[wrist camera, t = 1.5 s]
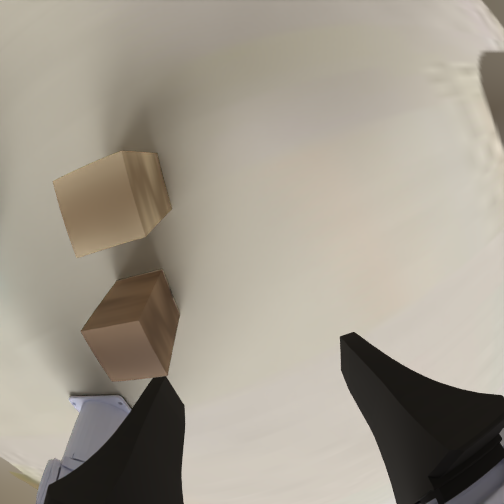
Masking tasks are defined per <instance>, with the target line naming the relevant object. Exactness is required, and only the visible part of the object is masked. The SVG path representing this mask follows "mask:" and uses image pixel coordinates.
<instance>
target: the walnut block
mask: <svg viewBox="0 0 504 504" xmlns="http://www.w3.org/2000/svg"><path fill="white" fill-rule="evenodd" d="M179 317H180V313H179V310H178V308H177V305H176V303H175V300H174V297H173V295H172V292H171V290H170V287H169V284H168V282H167V279H166V276H165V273H164V271H163V269H159V270H155V271H152V272H148V273H144V274H140V275H136V276H132V277H128V278H124V279H121V280H117V281H116V282H115V284H114V285H113V286H112V288H111V289H110V290H109V292H108V293H107V294H106V296H105V297H104V299H103V300H102V301H101V303H100V304H99V305H98V307H97V308H96V310H95V311H94V313H93V314H92V315H91V317H90V318H89V320H88V321H87V323H86V324H85V326H84V327H83V329H82V330H81V333H82V335H83V336H84V338H85V340H86V342H87V343H88V345H89V347H90V348H91V350H92V352H93V353H94V355H95V356H96V358H97V360H98V361H99V363H100V364H101V366H102V367H103V369H104V371H105V372H106V374H107V375H108V376H109V378H110V379H111V381H112V382H115V381H126V380H136V379H145V378H153V377H161V376H168V371H169V366H170V360H171V355H172V350H173V345H174V340H175V335H176V331H177V326H178V321H179Z"/></svg>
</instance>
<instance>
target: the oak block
mask: <svg viewBox="0 0 504 504" xmlns="http://www.w3.org/2000/svg"><path fill="white" fill-rule="evenodd" d="M53 185H54V188H55V192H56V196H57V200H58V203H59V207H60V210H61V214H62V217H63V220H64V223H65V226H66V229H67V232H68V235H69V238H70V241H71V244H72V247H73V249H74V252H75V255H76V257H77V258H79V257H82V256H85V255H88V254H92V253H95V252H98V251H101V250H104V249H107V248H111V247H114V246H117V245H120V244H124V243H127V242H130V241H134V240H137V239H140V238H144V237H146V236H147V235H148V234H149V233H150V232H151V231H152V230H153V229H154V227H155V226H156V225H157V224H158V223H159V222H160V221H161V220H162V219H163V218H164V217H165V216H166V215H167V214H168V213H169V212H170V210H171V209H172V207H171V204H170V200H169V197H168V193H167V189H166V186H165V182H164V178H163V174H162V171H161V167H160V163H159V159H158V155H157V153H148V152H135V151H119V152H117V153H114V154H112V155H109V156H107V157H104V158H102V159H99V160H97V161H95V162H92V163H90V164H88V165H86V166H83V167H81V168H79V169H77V170H75V171H73V172H71V173H68V174H66V175H64V176H62V177H60V178H58V179H56V180H54V181H53Z"/></svg>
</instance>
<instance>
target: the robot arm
mask: <svg viewBox="0 0 504 504" xmlns="http://www.w3.org/2000/svg"><path fill="white" fill-rule="evenodd" d="M340 349H341V371H342V374H343V376H344V379H345V381H346V384H347V386H348V389H349V391H350V393H351V394H352V396H353V398H354V400H355V402H356V403H357V405H358V407H359V409H360V411H361V412H362V414H363V416H364V418H365V419H366V421H367V423H368V425H369V427H370V429H371V431H372V433H373V435H374V437H375V439H376V442H377V444H378V447H379V450H380V452H381V455H382V458H383V460H384V463H385V466H386V469H387V472H388V475H389V478H390V481H391V485H392V488H393V492H394V495H395V499H396V503H397V504H504V446H502V445H501V444H500V442H501V440H502V437H501V436H500V435H499V433H500V431H501V430H502V429H503V428H504V397H503V396H502V395H494V394H484V393H477V392H472V391H467V390H463V389H459V388H455V387H452V386H449V385H446V384H443V383H440V382H437V381H434V380H432V379H430V378H427V377H425V376H423V375H421V374H419V373H417V372H415V371H413V370H411V369H409V368H407V367H405V366H404V365H402V364H400V363H399V362H397V361H395V360H394V359H392V358H391V357H389V356H387V355H386V354H384V353H383V352H381V351H380V350H378V349H377V348H376V347H374V346H373V345H371V344H370V343H369V342H367V341H366V340H365V339H363V338H362V337H361V336H359V335H358V334H356V333H355V332H352V333H349V334H346V335H343V336H340ZM69 401H70V402H71V403H72V405H73V406H74V407H75V408H76V409H77V410H78V412H79V415H78V417H77V420H76V423H75V425H74V428H73V430H72V433H71V436H70V438H69V441H68V444H67V447H66V450H65V453H64V456H63V458H62V460H61V461H60V460H58V459H56V458H54V459H51V460H49V461H48V463H47V465H46V468H45V470H44V473H43V476H42V479H41V482H40V485H39V489H38V492H37V497H36V498H37V500H36V504H184V503H183V494H182V479H181V470H182V456H183V445H184V434H185V408H184V404H183V403H182V401H181V400H180V398H179V396H178V395H177V393H176V392H175V390H174V388H173V387H172V385H171V384H170V382H169V380H168V379H167V377H166V376H163V377H155V378H153V379H152V380H151V381H150V383H149V384H148V386H147V387H146V389H145V390H144V392H143V393H142V395H141V396H140V398H139V399H138V401H137V402H136V404H135V405H134V407H133V408H132V409H131V408H130V407H129V406H128V404H127V403H126V402H125V400H124V399H123V398H122V397H121V396H119V395H108V396H70V397H69Z"/></svg>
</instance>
